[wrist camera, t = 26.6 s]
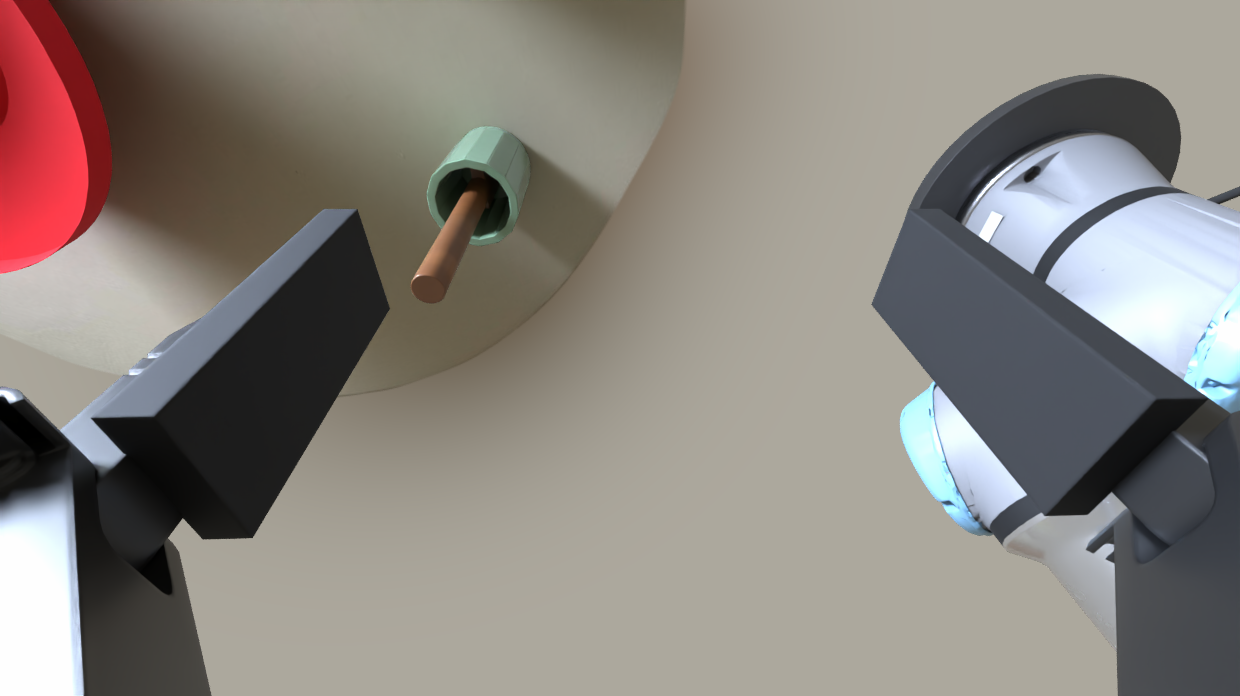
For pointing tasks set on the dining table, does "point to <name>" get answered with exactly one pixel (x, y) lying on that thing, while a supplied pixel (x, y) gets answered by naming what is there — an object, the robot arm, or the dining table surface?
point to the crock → (497, 159)
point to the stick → (453, 239)
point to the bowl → (46, 137)
